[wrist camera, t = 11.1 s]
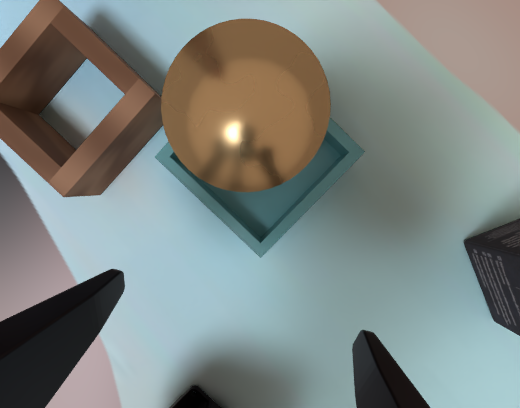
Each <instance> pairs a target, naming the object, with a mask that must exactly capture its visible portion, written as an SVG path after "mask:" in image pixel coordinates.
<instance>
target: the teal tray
mask: <svg viewBox="0 0 520 408" xmlns="http://www.w3.org/2000/svg"><path fill="white" fill-rule="evenodd" d="M364 152H365V151H364V150H363V149H362V148H361V147H360V146H359V145H357V144H356V143H355V142H354V141H353V140H352V139H351V138H350V137H349V136H348V135H347V134H346V133H345V132H344V131H343V130H342V129H341V128H340V127H339V126H338V125H337V124H336V123H335V122H334V121H333V120H332V119H331V118H329V124H328V128H327V131H326V134H325V137H324V140H323V142H322V144H321V146H320V148H319V150H318V151H317V153H316V154H315V156H314V157H313V159H312V160H311V161H310V162H309V163H308V165H307V166H306V167H305V168H304V169H303V170H302V171H300V172H299V173H298V174H297V175H295V176H294V177H293V178H291V179H290V180H288V181H286V182H284V183H282V184H281V185H278V186H276V187H273V188H270V189H266V190H262V191H256V192H235V191H229V190H225V189H221V188H218V187H215V186H213V185H211V184H209V183H206V182H205V181H203V180H202V179H200V178H198V177H197V176H196V175H194V174H193V173H192V172H191V171H189V170H188V169H187V167H186V166H185V165H184V164H183V163H182V162H181V161H180V160H179V158H178V157H177V155H176V154H175V153H174V151H173V149H172V147H171V145H170V143H169V142H168V143H167V144H166V145H165V146H164V147H163V148H162V149H161V151H160V152H159V153H158V154H157V155H156V156H155V158H156V159H157V160H158V161H159V162H160V163H161V164H162V165H164V166H165V167H166V168H167V169H168V170H169V171H170V172H171V173H172V174H173V175H174V176H175V177H176V178H177V179H178V180H179V181H180V182H181V183H182V184H184V185H185V186H186V187H187V188H188V189H189V190H190V191H191V192H192V193H193V194H194V195H195V196H196V197H197V198H198V199H199V200H200V201H201V202H202V203H204V204H205V205H206V206H207V207H208V208H209V209H210V210H211V211H212V212H213V213H214V214H215V215H216V216H217V217H218V218H219V219H220V220H221V221H222V222H224V223H225V224H226V225H227V226H228V227H229V228H230V229H231V230H232V231H233V232H234V233H235V234H236V235H237V236H238V237H239V238H240V239H241V240H242V241H244V242H245V243H246V244H247V245H248V246H249V247H250V248H251V249H252V250H253V251H254V252H255V253H256V254H257V255H258V256H259V257H260V258H261V257H262V256H263V255H264V254H265V253H266V252H267V251H268V250H269V249H270V248H271V247H272V246H273V245H274V244H275V243H276V242H277V241H278V240H279V239H280V238H281V237H282V236H283V235H284V234H285V233H286V232H287V231H288V230H289V229H290V228H291V227H292V226H293V225H294V224H295V223H296V222H297V221H298V219H299V218H300V217H301V216H302V215H303V214H304V213H305V212H306V211H307V210H308V209H309V208H310V207H311V206H312V205H313V204H314V203H315V202H316V201H317V200H318V199H319V198H320V197H321V196H322V195H323V194H324V193H325V192H326V191H327V190H328V189H329V188H330V187H331V186H332V185H333V184H334V183H335V182H336V181H337V180H338V179H339V178H340V177H341V176H342V175H343V174H344V173H345V172H346V171H347V170H348V169H349V168H350V167H351V166H352V165H353V164H354V163H355V162H356V161H357V159H358V158H359V157H360V156H361V155H362V154H363V153H364Z"/></svg>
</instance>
